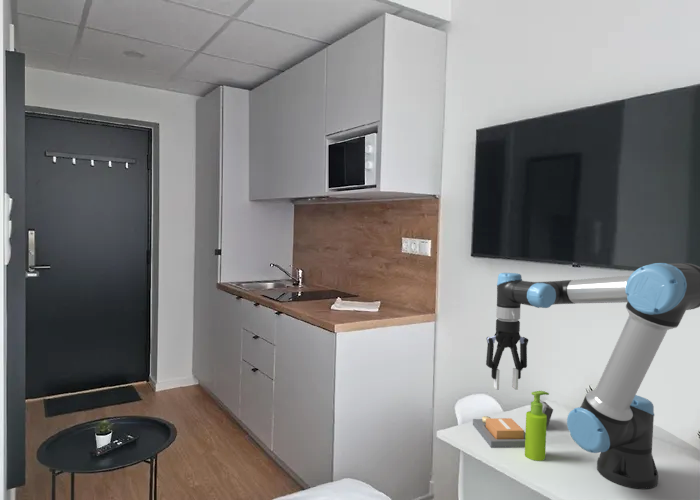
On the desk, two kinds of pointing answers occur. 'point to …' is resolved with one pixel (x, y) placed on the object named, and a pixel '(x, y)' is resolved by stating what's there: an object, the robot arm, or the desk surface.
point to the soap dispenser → (536, 429)
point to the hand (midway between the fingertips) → (505, 388)
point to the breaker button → (504, 428)
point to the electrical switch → (547, 412)
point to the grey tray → (493, 443)
